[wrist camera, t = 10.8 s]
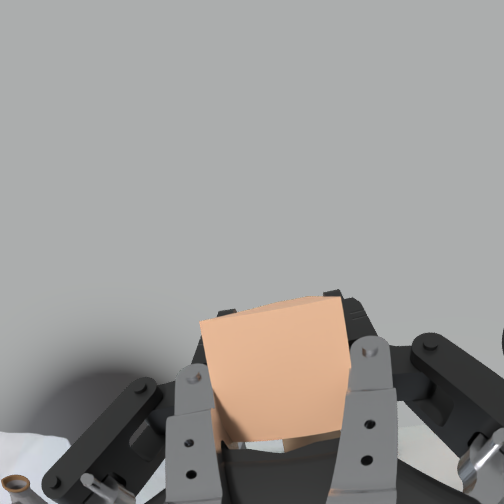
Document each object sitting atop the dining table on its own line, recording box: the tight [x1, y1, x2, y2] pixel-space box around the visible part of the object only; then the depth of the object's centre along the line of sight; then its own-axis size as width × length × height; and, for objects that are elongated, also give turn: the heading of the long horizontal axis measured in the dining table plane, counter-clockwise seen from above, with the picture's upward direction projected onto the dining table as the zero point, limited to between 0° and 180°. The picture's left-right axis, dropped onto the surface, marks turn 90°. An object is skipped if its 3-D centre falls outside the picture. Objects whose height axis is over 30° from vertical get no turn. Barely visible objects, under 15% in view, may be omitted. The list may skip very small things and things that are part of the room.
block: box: [200, 296, 351, 442], centre depth 20 cm, size 4×26×4 cm, turn 171°
